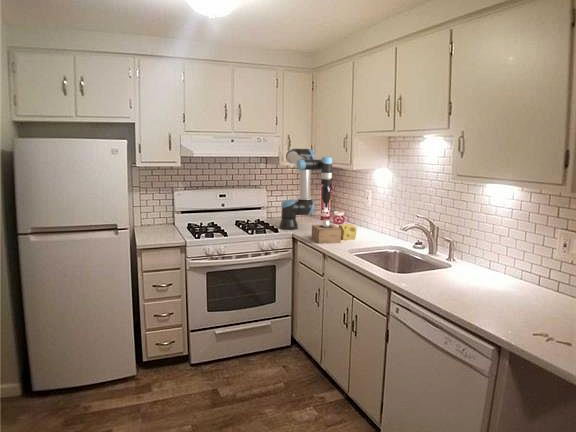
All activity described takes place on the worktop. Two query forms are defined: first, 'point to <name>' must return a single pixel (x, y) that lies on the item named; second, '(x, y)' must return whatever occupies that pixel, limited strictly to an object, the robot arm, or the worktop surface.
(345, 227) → the cheese
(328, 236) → the socket block
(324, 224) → the peg
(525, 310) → the worktop surface
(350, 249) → the worktop surface
